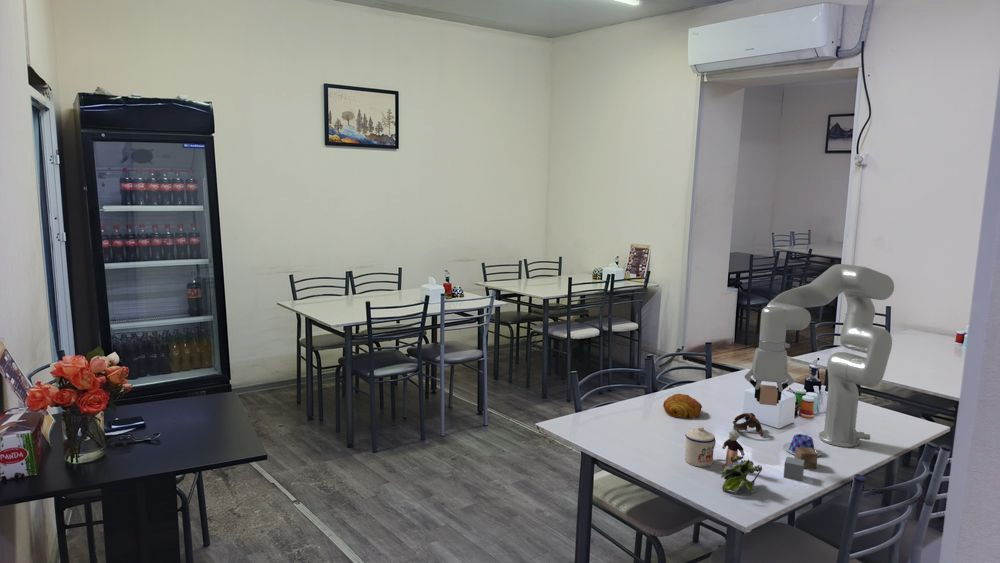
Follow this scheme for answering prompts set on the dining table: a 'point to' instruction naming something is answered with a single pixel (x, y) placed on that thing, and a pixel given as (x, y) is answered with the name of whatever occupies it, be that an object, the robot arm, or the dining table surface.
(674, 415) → the croissant
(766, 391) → the terracotta cube
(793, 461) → the slate grey cube
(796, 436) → the purple patterned hat
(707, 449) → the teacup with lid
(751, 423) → the brown curved piece
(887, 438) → the dining table surface
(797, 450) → the walnut cube
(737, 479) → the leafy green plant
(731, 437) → the grandmother figurine
